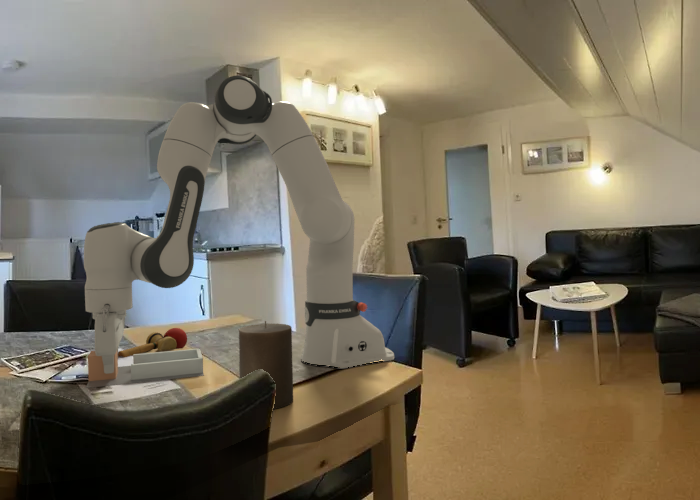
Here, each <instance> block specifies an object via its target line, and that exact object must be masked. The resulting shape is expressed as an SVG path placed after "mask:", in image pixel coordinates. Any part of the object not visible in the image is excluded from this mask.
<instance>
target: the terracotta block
mask: <svg viewBox="0 0 700 500" xmlns="http://www.w3.org/2000/svg"><path fill="white" fill-rule="evenodd" d="M118 360H119V356H118V355H117V351H116V354H114V372H113V373H108V374H106V373H104V365H103V360H102V356H96V353H95V350H91V351H90V352H89V354H88V356H87V370H88V371H87V372H88V378H87V379H88V382H89V381H97V380H107V379H116V377H117V374H118V367H119V364H118V362H119V361H118Z"/></svg>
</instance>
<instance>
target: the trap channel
mask: <svg viewBox="0 0 700 500" xmlns="http://www.w3.org/2000/svg"><path fill="white" fill-rule="evenodd" d="M132 358H133V362H132V363H133V364H132V363H131V364H130V365H126V366H124V365H123V366H118V374H117V377H116V379H107V380H97V381H89V380H88V382H87V384H86V386H85V389H89V388H98V387H110V386H119V385H129V384H136V383H146V382H159V381H166V380H176V379H185V378H195V377H203V376H205V375H204V358H203V355H202V352H201V348H191V349H181V350H180V349H178V350H177V349H176V350H165V351H158V352H156V351H155V352H145V353H140V354H133V357H132Z"/></svg>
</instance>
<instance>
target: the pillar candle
mask: <svg viewBox="0 0 700 500" xmlns="http://www.w3.org/2000/svg"><path fill="white" fill-rule="evenodd" d="M237 329H238V343H239V345H238V347H239V349H238V350H239V354H238V356H239V360H238V361H239V365H238V367H239V368H238V369H239V379H240V378H242V377H244V376H246V375H247V374H249V373H251V372H253V371H255V370H258V369H263V370H264V371H266V372H268V373H269V374H270V376H271V377H272V378H273V380H274V381H275V384H276V396H275V404H274V409H273V410H275V409H280V408H283V407H286V406H289V405H291V404H292V403H293V401H294V378H293V377H294V375H293V371H294V370H293V342H292V341H293V334H292V333H293V331H292V329H293V328H292V326H291V325H290V324H285V323H267V321H266V320H264V323H258V324H251V325H246V326H245V325H244V326H243V327H239V328H237Z"/></svg>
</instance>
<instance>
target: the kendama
mask: <svg viewBox="0 0 700 500" xmlns="http://www.w3.org/2000/svg"><path fill="white" fill-rule="evenodd" d="M145 343H146V344H141V345H137V346H134V347H130V348H125V349H123V350H118V357H123V358H128V357H132V356H133V354H143V353H149V352H151V351H153V350H157V351H158V352H163V351H171V350H177V349H178V350H180V349H181V350H182V349H184V347H185V346H186V344H187V343H188V335H187V333H186V332H185V330H183V329H182V328H179V327H174V328H170V329H168V330H166V331H165V333H164V335H162V333H160V332H156V331H155V332H151V333H150V334H148V336H147V338H146V341H145Z"/></svg>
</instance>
